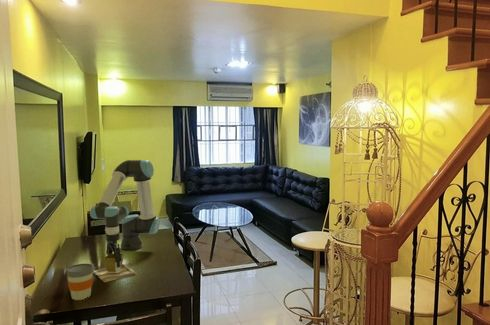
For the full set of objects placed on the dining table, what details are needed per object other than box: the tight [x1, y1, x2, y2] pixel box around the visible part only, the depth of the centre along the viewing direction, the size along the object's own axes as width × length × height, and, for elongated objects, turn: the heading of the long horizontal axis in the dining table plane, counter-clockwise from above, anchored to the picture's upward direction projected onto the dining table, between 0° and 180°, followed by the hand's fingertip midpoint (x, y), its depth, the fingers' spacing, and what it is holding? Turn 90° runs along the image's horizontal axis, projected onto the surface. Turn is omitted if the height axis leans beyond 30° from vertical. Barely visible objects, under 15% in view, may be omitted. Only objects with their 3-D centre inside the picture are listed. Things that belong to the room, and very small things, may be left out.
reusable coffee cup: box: [66, 263, 94, 301], centre depth 195 cm, size 13×12×15 cm
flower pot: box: [103, 253, 125, 272], centre depth 225 cm, size 9×9×9 cm
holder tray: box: [93, 263, 136, 283], centre depth 225 cm, size 18×18×2 cm
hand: (114, 269), depth 225 cm, fingers closed on flower pot, 11 cm apart
